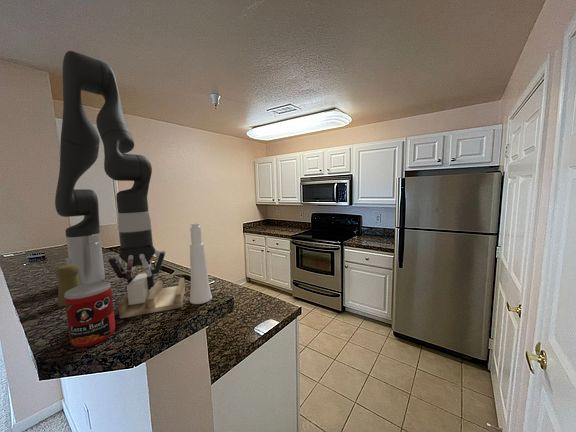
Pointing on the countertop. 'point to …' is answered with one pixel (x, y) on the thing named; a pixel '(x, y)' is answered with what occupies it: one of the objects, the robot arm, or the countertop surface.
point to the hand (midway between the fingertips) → (141, 289)
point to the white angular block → (138, 289)
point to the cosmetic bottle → (198, 268)
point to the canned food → (90, 313)
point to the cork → (66, 280)
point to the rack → (155, 300)
